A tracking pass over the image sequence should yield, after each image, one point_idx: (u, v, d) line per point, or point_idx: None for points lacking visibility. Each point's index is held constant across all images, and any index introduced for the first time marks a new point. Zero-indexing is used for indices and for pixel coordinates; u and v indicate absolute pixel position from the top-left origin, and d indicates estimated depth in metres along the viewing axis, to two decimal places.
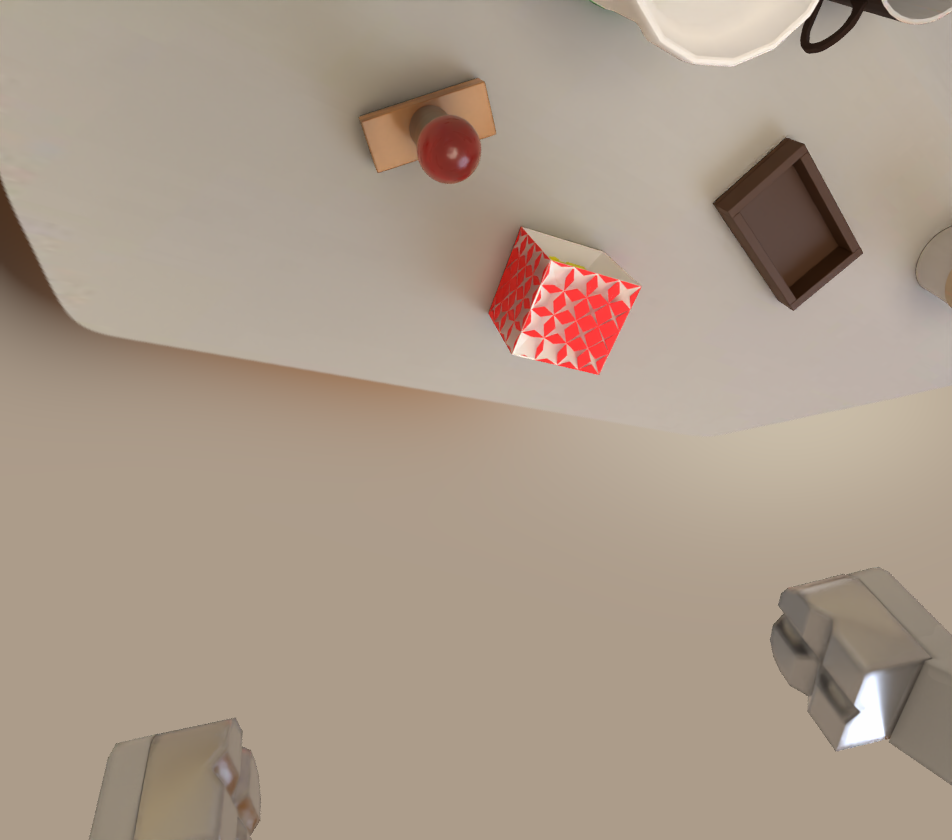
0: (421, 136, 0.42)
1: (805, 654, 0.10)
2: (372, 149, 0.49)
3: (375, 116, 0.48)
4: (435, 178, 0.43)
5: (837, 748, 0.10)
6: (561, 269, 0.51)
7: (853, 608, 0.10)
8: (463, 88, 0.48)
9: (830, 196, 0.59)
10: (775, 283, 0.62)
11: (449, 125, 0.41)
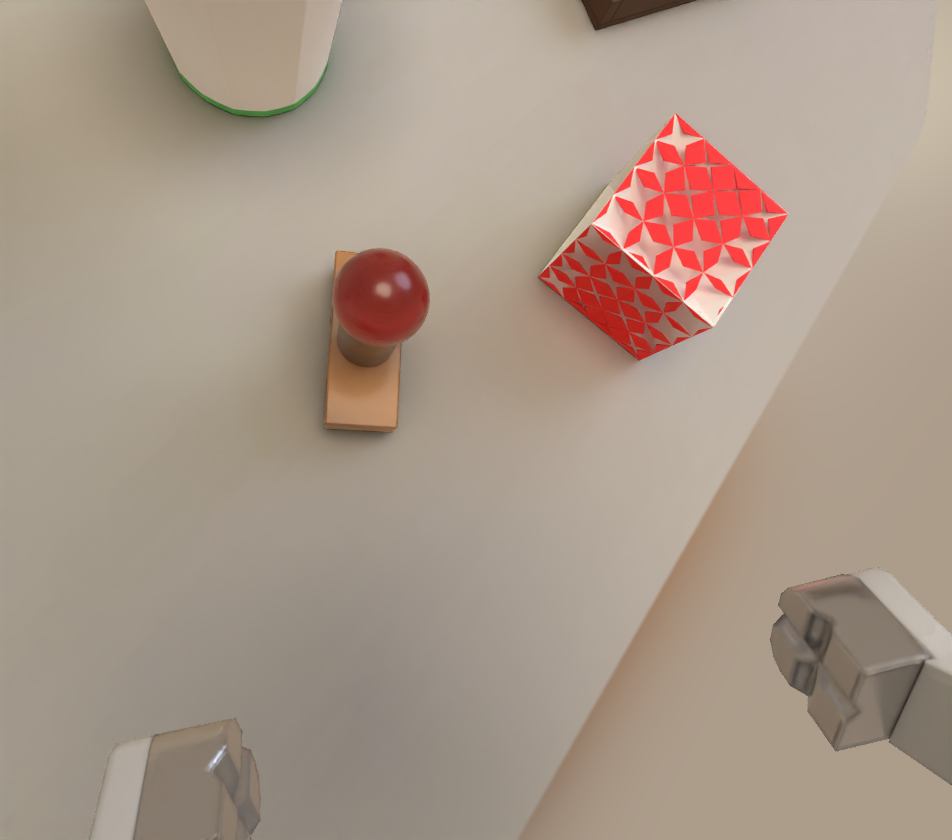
0: (346, 327, 0.28)
1: (805, 655, 0.10)
2: (364, 422, 0.35)
3: (326, 402, 0.35)
4: (410, 328, 0.28)
5: (837, 747, 0.10)
6: (610, 215, 0.34)
7: (853, 608, 0.10)
8: (334, 279, 0.36)
9: None
10: None
11: (343, 279, 0.27)
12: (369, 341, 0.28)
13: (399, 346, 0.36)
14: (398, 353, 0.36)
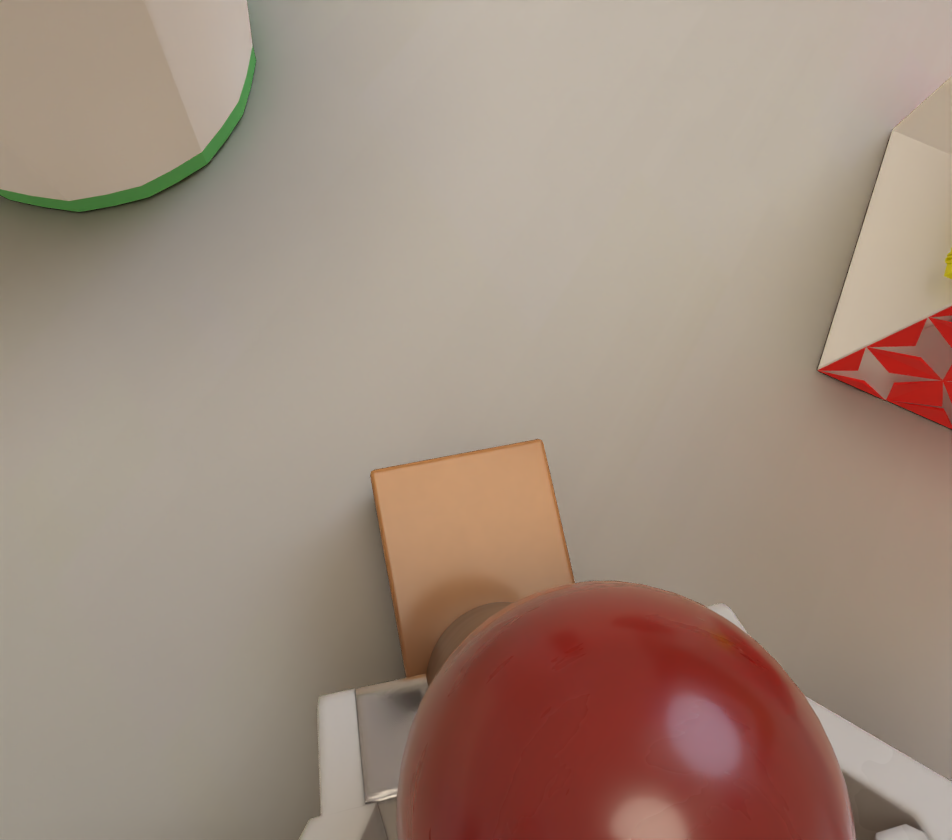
0: None
1: None
2: None
3: None
4: None
5: None
6: None
7: None
8: (384, 547, 0.14)
9: None
10: None
11: None
12: None
13: None
14: None
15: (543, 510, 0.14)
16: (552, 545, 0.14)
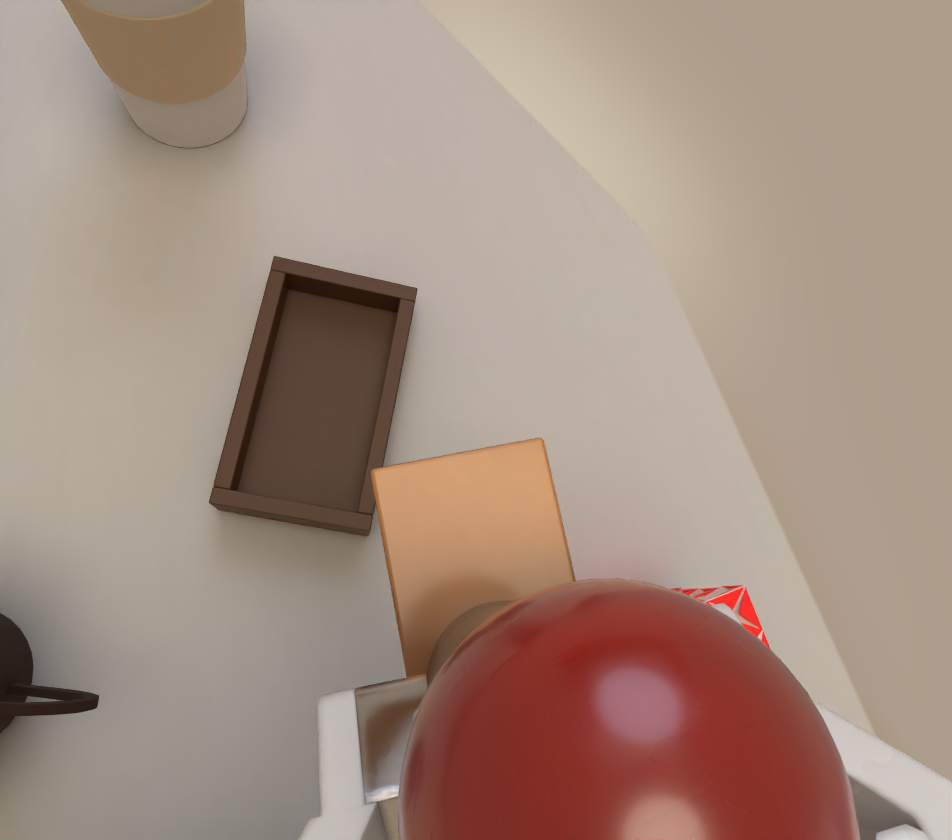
0: None
1: None
2: None
3: None
4: None
5: None
6: None
7: None
8: (385, 546, 0.14)
9: (242, 388, 0.34)
10: (403, 354, 0.36)
11: None
12: None
13: None
14: None
15: (544, 509, 0.14)
16: (553, 544, 0.14)
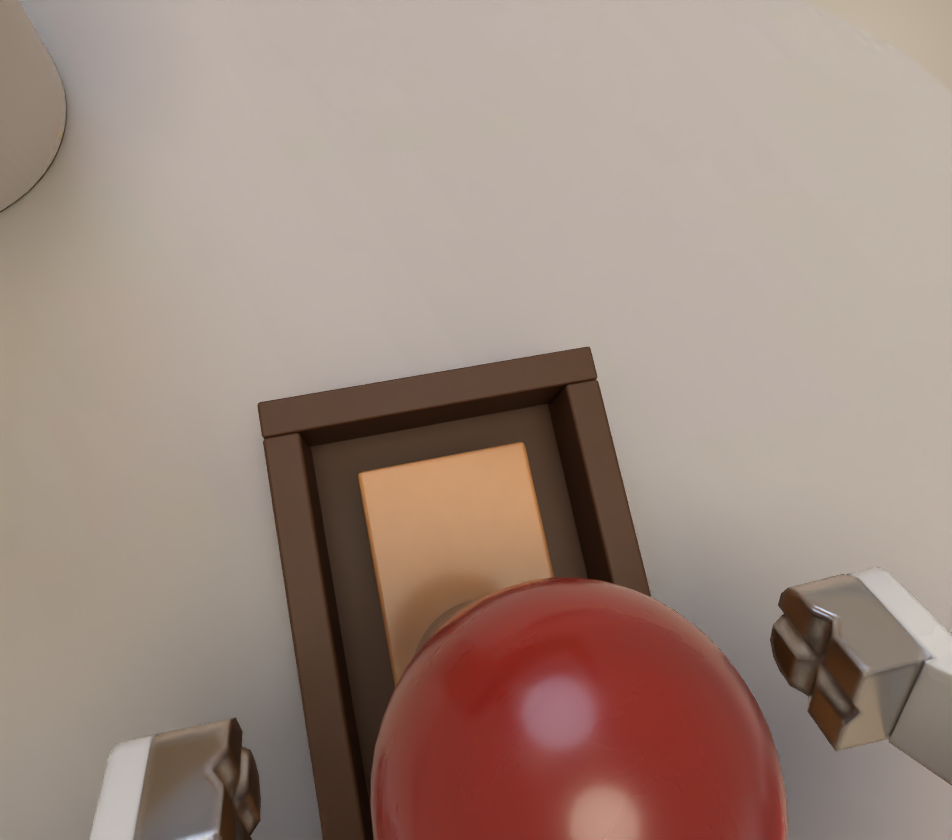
0: None
1: (805, 654, 0.10)
2: None
3: None
4: None
5: (836, 747, 0.10)
6: None
7: (853, 608, 0.10)
8: (371, 546, 0.14)
9: (319, 757, 0.14)
10: (628, 510, 0.16)
11: None
12: None
13: None
14: None
15: (525, 510, 0.15)
16: (533, 544, 0.14)
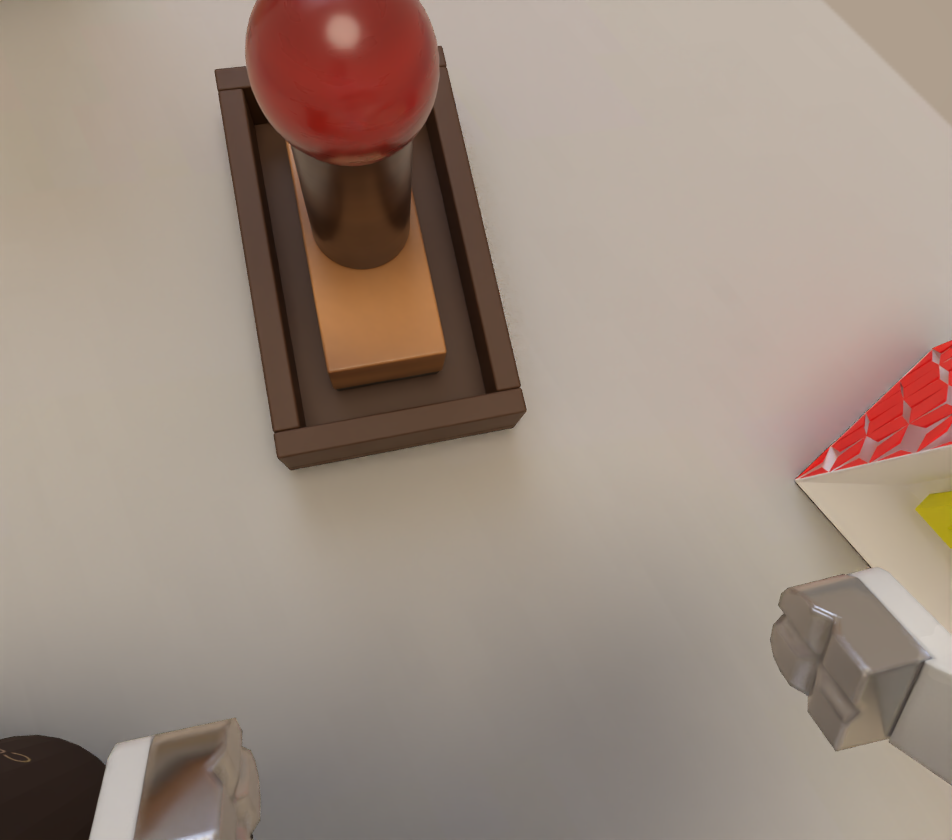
0: (290, 123, 0.14)
1: (805, 654, 0.10)
2: (391, 356, 0.21)
3: (322, 340, 0.21)
4: (412, 89, 0.14)
5: (837, 747, 0.10)
6: None
7: (853, 608, 0.10)
8: (287, 148, 0.22)
9: (253, 275, 0.21)
10: (464, 146, 0.23)
11: (255, 19, 0.13)
12: (341, 141, 0.14)
13: (416, 225, 0.22)
14: (418, 235, 0.22)
15: None
16: None
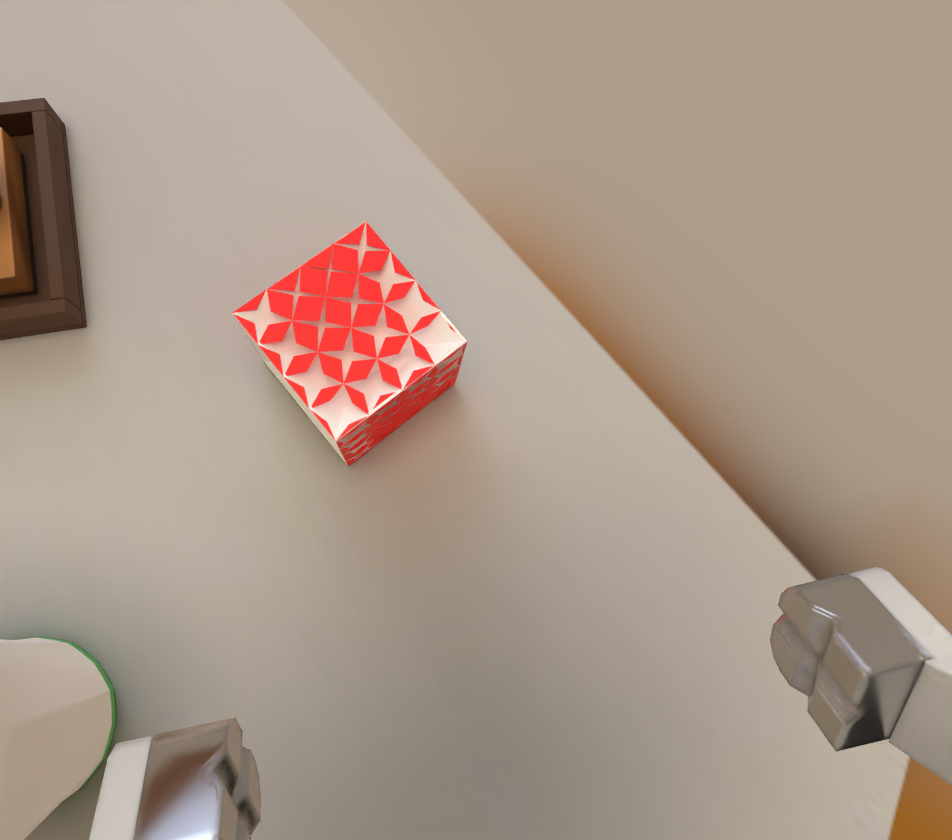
0: None
1: (805, 655, 0.10)
2: None
3: None
4: None
5: (837, 748, 0.10)
6: (329, 415, 0.33)
7: (853, 608, 0.10)
8: None
9: None
10: (50, 158, 0.39)
11: None
12: None
13: (6, 204, 0.38)
14: (6, 210, 0.38)
15: None
16: None
